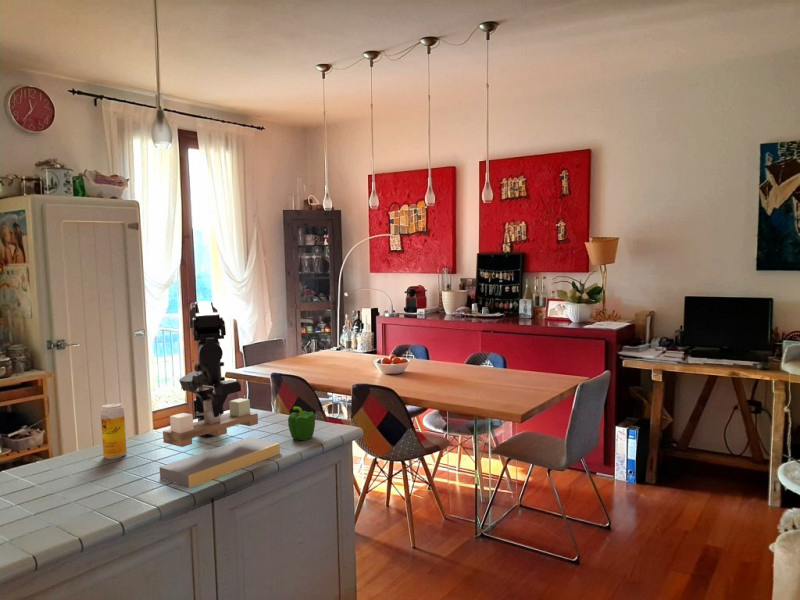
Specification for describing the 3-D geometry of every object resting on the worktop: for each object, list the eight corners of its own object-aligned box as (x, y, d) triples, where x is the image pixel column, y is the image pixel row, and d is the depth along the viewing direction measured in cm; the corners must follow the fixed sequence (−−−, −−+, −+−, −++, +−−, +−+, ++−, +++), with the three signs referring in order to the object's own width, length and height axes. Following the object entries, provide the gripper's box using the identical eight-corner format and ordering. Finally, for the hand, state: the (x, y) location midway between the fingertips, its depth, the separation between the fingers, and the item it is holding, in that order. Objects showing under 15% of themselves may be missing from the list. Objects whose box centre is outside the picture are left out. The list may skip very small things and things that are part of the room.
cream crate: (170, 431, 156) (169, 416, 156) (184, 427, 160) (183, 412, 159) (180, 433, 154) (179, 417, 154) (193, 429, 157) (192, 414, 157)
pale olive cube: (229, 414, 172) (229, 401, 171) (241, 411, 175) (240, 398, 175) (239, 416, 169) (238, 402, 169) (250, 413, 173) (249, 399, 172)
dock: (160, 478, 155) (159, 467, 155) (250, 446, 179) (249, 436, 179) (190, 488, 148) (189, 476, 147) (280, 453, 172) (279, 443, 172)
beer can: (98, 458, 173) (95, 406, 171) (115, 451, 178) (112, 401, 177) (114, 460, 170) (111, 408, 169) (131, 453, 176) (128, 403, 175)
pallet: (163, 442, 157) (161, 408, 156) (239, 420, 177) (238, 390, 177) (182, 447, 152) (180, 412, 152) (258, 423, 173) (256, 392, 172)
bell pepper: (321, 436, 188) (320, 404, 187) (305, 443, 181) (304, 411, 180) (300, 433, 192) (299, 402, 191) (283, 440, 185) (282, 408, 184)
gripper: (162, 361, 162) (165, 418, 163) (206, 366, 151) (209, 427, 152) (197, 355, 171) (200, 409, 172) (241, 360, 161) (244, 417, 162)
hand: (212, 416), depth 164 cm, fingers closed on pallet, 3 cm apart
